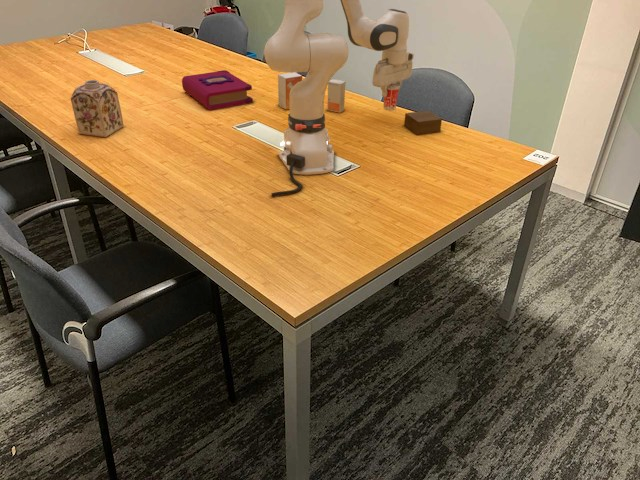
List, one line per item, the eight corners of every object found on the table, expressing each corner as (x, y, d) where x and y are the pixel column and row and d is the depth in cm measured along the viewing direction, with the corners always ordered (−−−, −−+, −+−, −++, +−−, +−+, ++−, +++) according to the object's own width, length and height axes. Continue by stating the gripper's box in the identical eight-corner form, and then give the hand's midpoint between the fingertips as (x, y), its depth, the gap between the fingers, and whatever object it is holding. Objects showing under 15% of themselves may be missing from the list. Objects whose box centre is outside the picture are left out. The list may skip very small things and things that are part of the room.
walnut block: (440, 131, 198) (442, 119, 195) (416, 135, 195) (418, 122, 192) (426, 122, 206) (428, 110, 203) (403, 125, 203) (405, 113, 200)
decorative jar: (125, 126, 197) (115, 78, 187) (106, 138, 188) (95, 87, 178) (97, 123, 200) (86, 75, 190) (77, 134, 190) (65, 84, 180)
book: (207, 111, 213) (205, 92, 209) (183, 92, 233) (180, 75, 228) (253, 102, 222) (253, 84, 218) (226, 85, 242) (225, 68, 238)
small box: (285, 110, 215) (285, 78, 208) (278, 105, 220) (277, 74, 212) (302, 106, 219) (302, 75, 212) (294, 102, 223) (294, 71, 216)
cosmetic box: (326, 110, 216) (327, 81, 209) (331, 107, 219) (332, 78, 212) (340, 113, 213) (341, 83, 207) (344, 110, 216) (345, 81, 210)
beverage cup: (397, 106, 206) (400, 70, 198) (397, 111, 200) (401, 74, 193) (381, 105, 206) (384, 69, 199) (381, 110, 201) (384, 73, 194)
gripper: (383, 63, 185) (380, 101, 192) (416, 53, 197) (412, 90, 205) (369, 59, 188) (367, 98, 196) (402, 51, 201) (399, 87, 208)
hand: (390, 94), depth 200 cm, fingers closed on beverage cup, 6 cm apart
